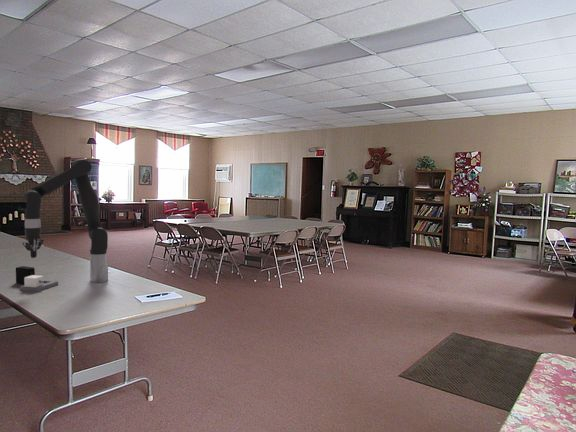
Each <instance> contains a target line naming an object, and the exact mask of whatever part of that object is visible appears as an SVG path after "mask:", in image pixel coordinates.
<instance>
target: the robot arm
mask: <svg viewBox="0 0 576 432" xmlns="http://www.w3.org/2000/svg"><path fill="white" fill-rule="evenodd" d="M91 170H92V163H91V162H90V161H89V160H88V159H84V158H79V159H78V158H77V159H75V160H73V161H72V162H71V166H70V167H69V168H68V169H67V170H65V171H63V172H60V173H58V174H56V175H54V176H52V177H50V178H48V179H47V180H44V182H42V183H40V184H39V185H36V186H34V187H32V188H29V189H28V190H26V191H25V192H24V193H23V195H22V198H23V200H24V201H25V202H26V208H25V210H24V235H25V236H26V239H25V241H24V242H22V245H23V247H24V248H25V250H27V251H29V252H30V258H31V259H35V258H37V251H38V250H39V249H41V247H42V245H43V243H44V239H41V236H42V235H41V234H42V227H41V226H42V223H41V212H40V209H41V203H42V198H43V197H45V196H47V195H51V194H52V193H54V192H55V191H56V190H57V191H58V190H59V189H60V188H62V187H63V186H65V185H66V184H68V183H71V182H72V181H73V180H75V181H76V182H75V183H76V187H77V191H78V196H79V200H80V204H81V207H82V211H83V214H84V217H85V219H86V224H87V230H88V231H87V232H88V236H89V237H88V238H89V239H90V240H91V242H90V243H91V247H90V249H89V279H90V280H89V281H90V282H92V283H104V282H107V281H109V265H108V264H107V262H108V261H107V257H108V256H107V250H108V246H109V245H108V241H109V237H108V231H107V230H106V229H105V228H103V225H102V223H101V220H100V204H99V200H98V196H97V194H96V191H95V190H94V188H93V185H92V184H91V182H90V178H89V173H90V172H92V171H91Z"/></svg>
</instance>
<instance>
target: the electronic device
mask: <svg viewBox="0 0 576 432" xmlns="http://www.w3.org/2000/svg"><path fill="white" fill-rule="evenodd" d="M35 270H36V269H35V267H32V266H26V265H23V266H17V267H15V284H19V285H24V277H28V276H31V275H36V271H35Z"/></svg>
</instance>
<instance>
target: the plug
mask: <svg viewBox="0 0 576 432" xmlns="http://www.w3.org/2000/svg"><path fill="white" fill-rule="evenodd" d="M44 280H45V277H44V275H36V274H35V275H31V276H28V277H24V284H23V285H24V286H26V287H38V286H41V285H44Z"/></svg>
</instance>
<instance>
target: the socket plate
mask: <svg viewBox="0 0 576 432" xmlns="http://www.w3.org/2000/svg"><path fill="white" fill-rule="evenodd" d="M58 285H59V281H58V280H48V279H44V285H41V286H38V287H26V286H24V284H22V285H21V286H19V291H24V292H25V291H27V292H36V293H37V292H40V291H45V290H47V289H49V288H53V287H55V286H58Z"/></svg>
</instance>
